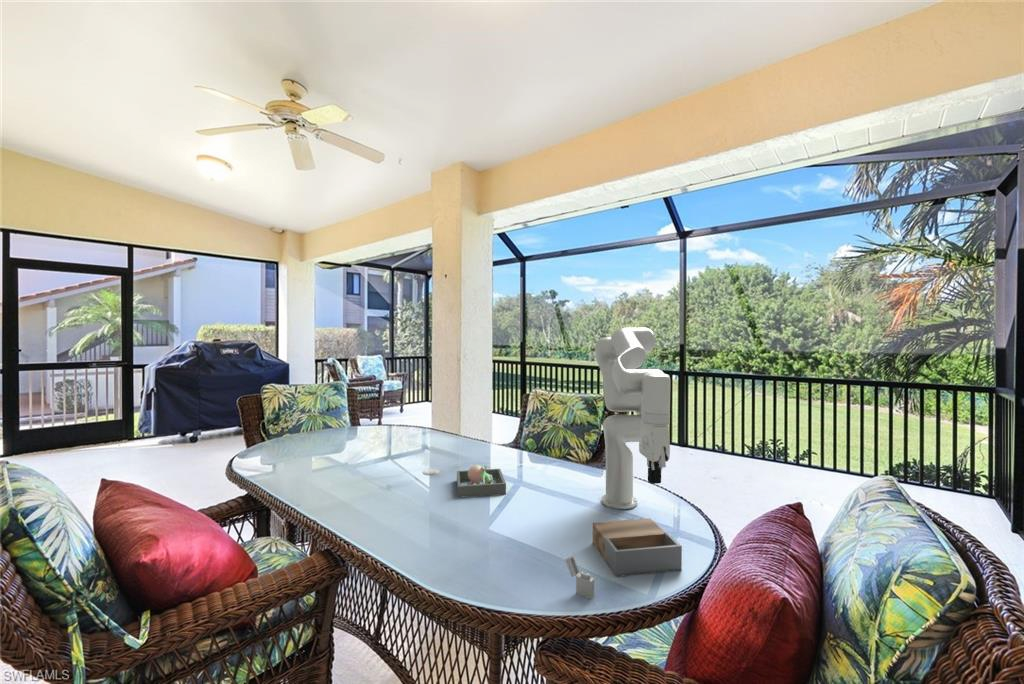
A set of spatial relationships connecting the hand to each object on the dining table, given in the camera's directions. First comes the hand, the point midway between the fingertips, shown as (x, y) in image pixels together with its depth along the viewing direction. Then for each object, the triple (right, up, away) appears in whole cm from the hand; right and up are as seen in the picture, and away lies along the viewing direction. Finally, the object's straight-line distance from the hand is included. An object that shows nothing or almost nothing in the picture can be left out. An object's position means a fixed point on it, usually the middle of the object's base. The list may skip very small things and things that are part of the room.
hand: (654, 482), depth 126 cm
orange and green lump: (-52, -19, +53) cm, 77 cm away
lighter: (-24, -21, -18) cm, 36 cm away
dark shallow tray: (-52, -18, +53) cm, 76 cm away
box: (-5, -20, -6) cm, 22 cm away
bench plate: (-6, -20, +3) cm, 21 cm away
